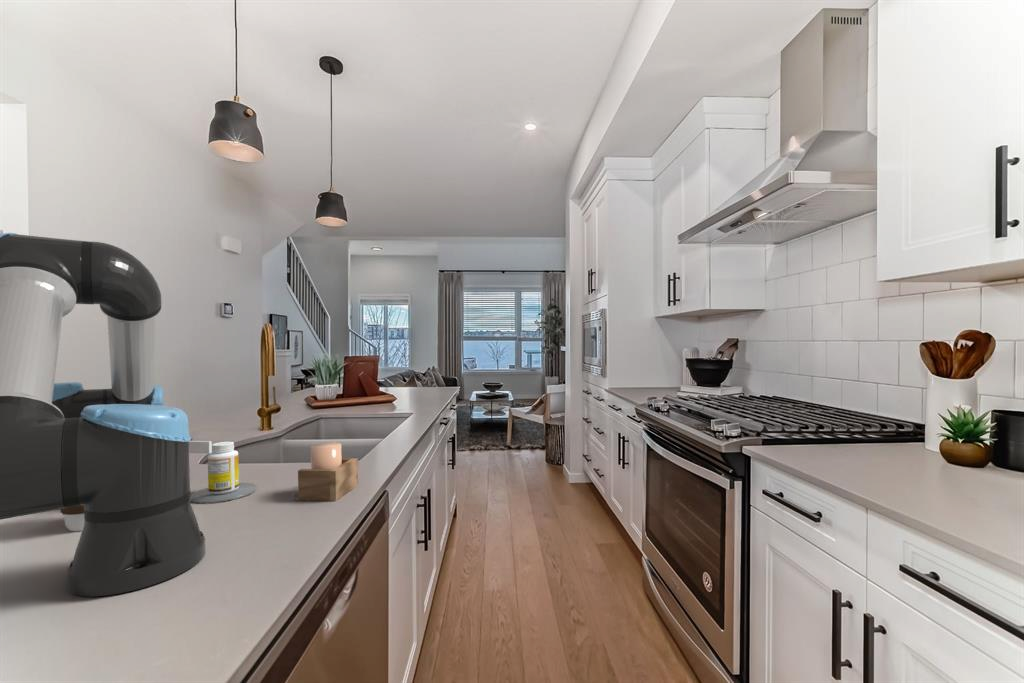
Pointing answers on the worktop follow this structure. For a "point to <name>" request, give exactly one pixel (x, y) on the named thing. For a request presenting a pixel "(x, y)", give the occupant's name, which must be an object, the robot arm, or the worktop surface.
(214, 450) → the supplement bottle
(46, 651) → the worktop surface
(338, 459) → the peach cylinder
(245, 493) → the slate coaster
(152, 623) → the worktop surface
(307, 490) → the wooden base
